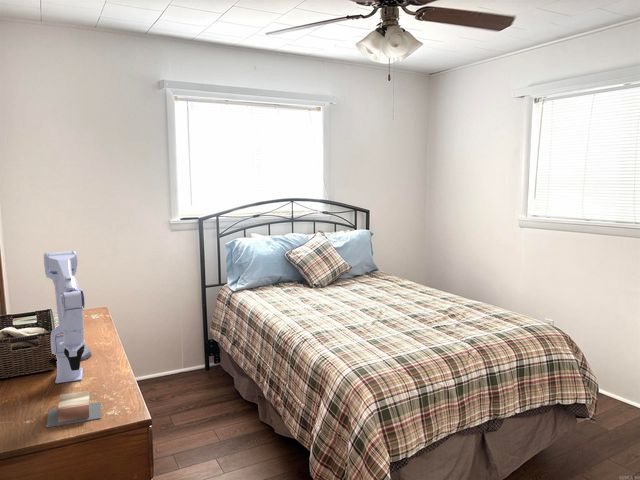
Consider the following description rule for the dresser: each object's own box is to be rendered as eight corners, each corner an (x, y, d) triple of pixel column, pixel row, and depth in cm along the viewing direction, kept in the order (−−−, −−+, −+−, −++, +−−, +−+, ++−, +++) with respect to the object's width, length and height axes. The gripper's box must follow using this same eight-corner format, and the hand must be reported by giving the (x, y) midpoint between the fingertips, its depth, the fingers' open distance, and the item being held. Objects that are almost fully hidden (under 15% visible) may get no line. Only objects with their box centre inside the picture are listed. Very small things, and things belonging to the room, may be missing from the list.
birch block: (60, 394, 144) (57, 409, 136) (89, 390, 147) (88, 404, 139) (61, 407, 144) (58, 422, 136) (90, 402, 148) (89, 417, 139)
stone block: (94, 360, 183) (81, 349, 188) (94, 350, 181) (81, 338, 187) (62, 371, 174) (50, 359, 179) (62, 360, 172) (50, 348, 178)
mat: (49, 410, 143) (49, 409, 143) (100, 402, 148) (100, 401, 148) (45, 428, 134) (45, 427, 134) (100, 418, 139) (100, 417, 139)
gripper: (60, 322, 153) (62, 361, 155) (56, 338, 140) (59, 381, 142) (85, 320, 156) (86, 359, 158) (83, 335, 143) (85, 377, 145)
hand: (75, 369), depth 150 cm, fingers closed
